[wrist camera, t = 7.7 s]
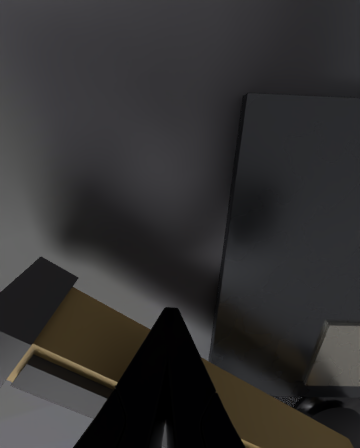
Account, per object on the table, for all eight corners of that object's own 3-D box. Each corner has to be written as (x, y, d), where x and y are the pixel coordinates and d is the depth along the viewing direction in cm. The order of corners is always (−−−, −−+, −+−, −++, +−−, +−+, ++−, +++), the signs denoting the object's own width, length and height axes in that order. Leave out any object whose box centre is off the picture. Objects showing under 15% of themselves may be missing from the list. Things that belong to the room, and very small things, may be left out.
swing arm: (370, 420, 15) (443, 527, 11) (327, 442, 16) (379, 548, 12) (63, 232, 9) (-26, 309, 5) (29, 286, 10) (-68, 384, 6)
